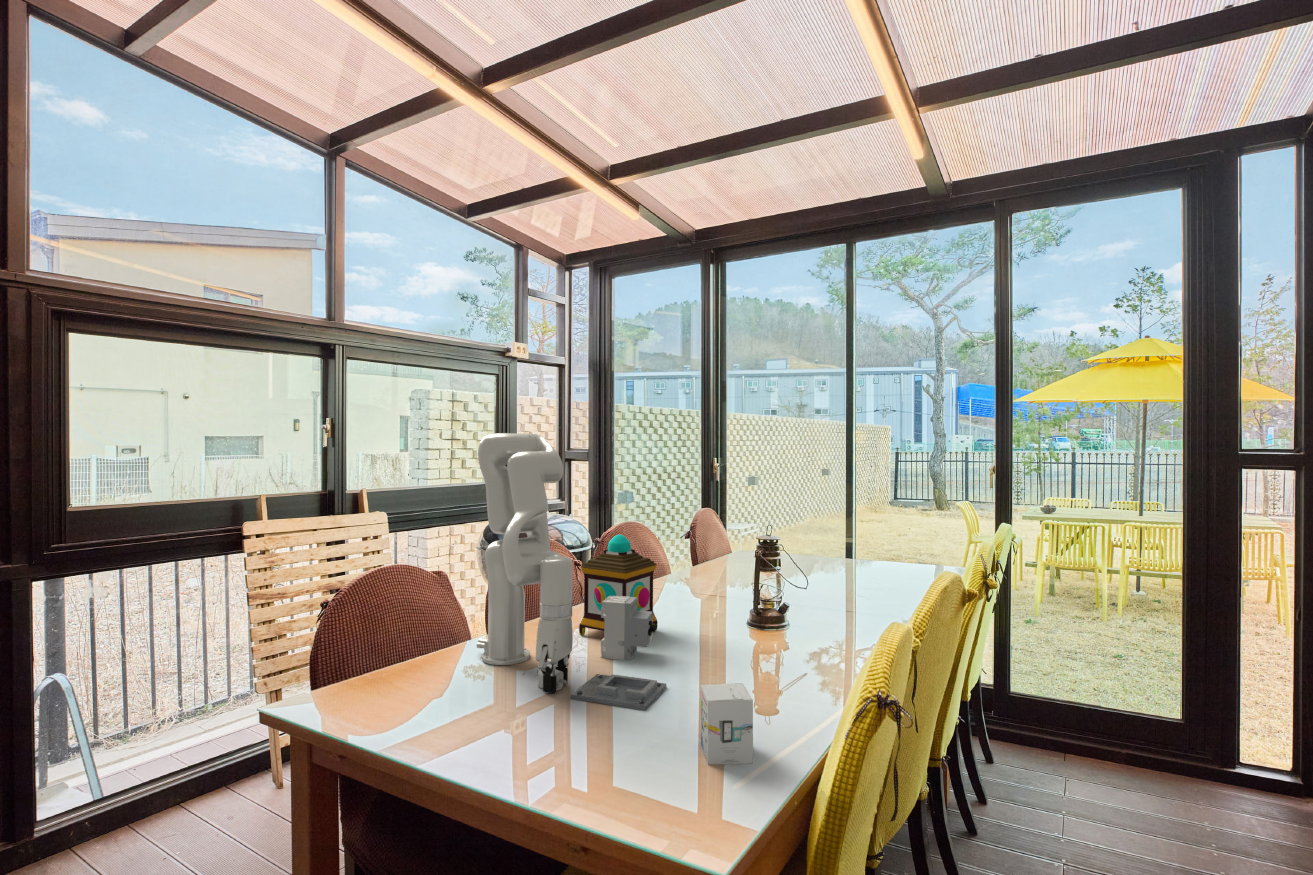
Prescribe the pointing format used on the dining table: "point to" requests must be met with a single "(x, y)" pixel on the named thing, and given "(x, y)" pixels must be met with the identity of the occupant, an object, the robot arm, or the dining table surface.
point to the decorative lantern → (616, 581)
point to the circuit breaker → (624, 627)
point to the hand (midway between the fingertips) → (555, 687)
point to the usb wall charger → (558, 679)
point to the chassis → (620, 691)
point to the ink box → (726, 724)
